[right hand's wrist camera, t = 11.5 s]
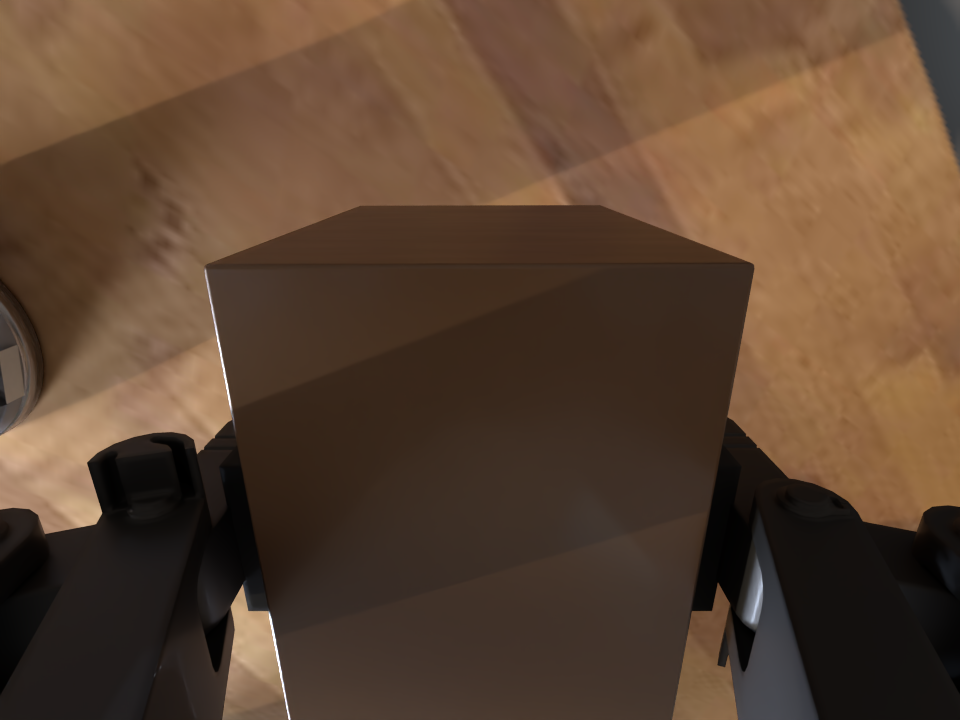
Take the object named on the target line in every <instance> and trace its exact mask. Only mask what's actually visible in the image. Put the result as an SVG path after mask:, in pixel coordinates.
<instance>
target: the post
mask: <svg viewBox="0 0 960 720" xmlns="http://www.w3.org/2000/svg"><path fill="white" fill-rule="evenodd" d="M204 272H205V277H206V282H207V288H208V293H209V298H210V304H211V309H212V314H213V319H214V325H215V330H216V335H217V341H218V346H219V351H220V356H221V362H222V367H223V372H224V378H225V383H226V388H227V394H228V399H229V404H230V409H231V415H232V420H233V425H234V431H235V436H236V441H237V446H238V452H239V457H240V462H241V468H242V473H243V478H244V483H245V489H246V494H247V499H248V505H249V510H250V515H251V521H252V526H253V531H254V536H255V542H256V547H257V552H258V558H259V563H260V568H261V573H262V579H263V584H264V589H265V595H266V600H267V605H268V611H269V616H270V621H271V626H272V632H273V637H274V642H275V648H276V653H277V658H278V663H279V669H280V674H281V679H282V685H283V690H284V695H285V701H286V706H287V711H288V716H289V720H672V716H673V711H674V705H675V700H676V695H677V689H678V684H679V678H680V673H681V667H682V662H683V656H684V651H685V645H686V640H687V634H688V629H689V623H690V618H691V612H692V607H693V601H694V596H695V591H696V585H697V580H698V574H699V569H700V563H701V558H702V552H703V547H704V541H705V536H706V530H707V525H708V519H709V514H710V508H711V503H712V497H713V492H714V487H715V481H716V476H717V470H718V465H719V459H720V454H721V448H722V443H723V437H724V432H725V426H726V421H727V415H728V410H729V404H730V399H731V393H732V388H733V383H734V377H735V372H736V366H737V361H738V355H739V350H740V344H741V339H742V333H743V328H744V322H745V317H746V311H747V306H748V300H749V295H750V289H751V284H752V279H753V273H754V265H753V264H752V263H750V262H747V261H745V260H742V259H739V258H737V257H734V256H731V255H729V254H726V253H724V252H721V251H718V250H716V249H713V248H710V247H708V246H705V245H703V244H700V243H697V242H695V241H692V240H689V239H687V238H684V237H682V236H679V235H676V234H674V233H671V232H668V231H666V230H663V229H661V228H658V227H655V226H653V225H650V224H647V223H645V222H642V221H640V220H637V219H634V218H632V217H629V216H626V215H624V214H621V213H619V212H616V211H613V210H611V209H608V208H605V207H603V206H600V205H524V206H359V207H356V208H354V209H351V210H348V211H346V212H343V213H341V214H338V215H335V216H333V217H330V218H327V219H325V220H322V221H319V222H317V223H314V224H312V225H309V226H306V227H304V228H301V229H298V230H296V231H293V232H291V233H288V234H285V235H283V236H280V237H277V238H275V239H272V240H270V241H267V242H264V243H262V244H259V245H256V246H254V247H251V248H249V249H246V250H243V251H241V252H238V253H235V254H233V255H230V256H227V257H225V258H222V259H220V260H217V261H214V262H212V263H209V264H207V265H205V267H204Z"/></svg>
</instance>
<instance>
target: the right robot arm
mask: <svg viewBox="0 0 960 720" xmlns="http://www.w3.org/2000/svg"><path fill="white" fill-rule="evenodd" d="M42 383H43V359H42V353H41V348H40V345H39V341H38V338H37V336H36V333H35V331H34V328H33V326H32V324H31V322H30V320H29V318H28V317H27V315H26V313H25V312H24V310H23V308H22V307H21V305H20V304H19V303H18V301H17V300H16V298H15V297H14V296H13V295H12V294H11V292H10V291H9V290H8V289H7V288H6V287H5V285H4V284H3V283H2V282H1V281H0V435H2V434H4V433H6V432H7V431H9V430H11V429H13V428H14V427H16V426H17V425H18V424H20V423H21V422H22V421H23V420H24V419H25V418H26V417H27V416H28V415H29V414H30V412H31V411H32V410H33V408H34V406H35V405H36V403H37V400H38V398H39V396H40V392H41V389H42ZM87 464H88V467H89V471H90V474H91V477H92V480H93V484H94V487H95V490H96V493H97V497H98V500H99V503H100V506H101V510H102V515H101V517H100V519H99V520H98V522H97V524H95V525H91V526H86V527H80V528H75V529H70V530H65V531H59V532H54V533H49V534H45V533H44V531H43V528H42V525H41V522H40V520H39V517H38V515H37V514H36V513H34V512H33V511H31V510H30V509H20V508H9V509H2V510H0V720H222V715H223V708H224V701H225V694H226V687H227V680H228V673H229V666H230V659H231V652H232V645H233V638H234V631H235V629H234V621H233V616H232V611H231V607H230V606H231V604H232V603H233V601H234V599H235V597H236V595H237V594H238V592H239V590H240V588H241V586H242V585H243V587H244V591H245V596H246V601H247V606H248V611H268V605H267V600H266V595H265V589H264V584H263V579H262V573H261V568H260V563H259V558H258V552H257V547H256V542H255V536H254V531H253V526H252V521H251V515H250V510H249V505H248V499H247V494H246V489H245V483H244V478H243V473H242V468H241V462H240V457H239V452H238V446H237V441H236V436H235V431H234V425H233V420H231V421H229V422H228V423H227V424H226V425H225V426H224V427H223V428H222V429H221V430H220V431H219V432H218V433H217V434H216V435H215V439H212V440H211V441H210V442H209V443H208V444H207V445H206V446H205V447H204V450H201V451H200V452H199V453H198V454H197V453H196V448H195V443H194V440H193V439H192V438H190V437H189V436H187V435H186V434H180V433H174V432H166V433H152V434H147V435H142V436H137V437H133V438H130V439H127V440H124V441H121V442H119V443H116V444H113V445H112V446H110V447H108V448H106V449H104V450H102V451H100V452H99V453H97V454H96V455H95V456H94V457H93V458H92V459H91V460H90V461H88V462H87ZM718 583H719V585H720V586H721V588H722V590H723V592H724V593H725V595H726V597H727V599H728V601H729V602H730V607H729V611H728V616H727V620H726V625H725V629H724V634H723V639H722V643H721V648H720V652H719V658H718V665H719V666H723V667H725V665H726V661H727V657H728V655H729V658H730V665H731V672H732V679H733V686H734V693H735V700H736V707H737V714H738V720H960V507H956V506H937V507H931V508H930V509H928V510H927V511H925V512H924V513H923V516H922V519H921V521H920V524H919V527H918V530H917V532H914V531H909V530H904V529H899V528H893V527H888V526H883V525H877V524H872V523H867V522H863V521H862V519H861V518H860V516H859V514H858V512H857V511H856V510H855V509H854V508H853V507H852V506H851V504H850V503H849V502H848V501H846V500H845V499H843V498H842V497H840V496H839V495H837V494H835V493H834V492H832V491H830V490H828V489H825V488H823V487H820V486H818V485H815V484H813V483H808V482H804V481H800V480H796V479H789V478H788V477H787V476H786V475H785V474H784V473H783V472H782V471H781V470H780V469H779V468H778V467H777V466H776V465H775V464H774V463H773V462H772V461H771V460H770V458H769V457H768V456H767V455H766V454H765V453H764V452H763V451H762V450H761V449H760V448H757V445H756V444H755V443H754V442H753V441H752V440H751V439H750V438H749V437H746V434H745V433H744V431H743V430H742V429H741V428H740V427H739V426H738V425H737V424H736V423H735V422H734V421H733V420H731V419H729V418H727V421H726V426H725V432H724V437H723V443H722V448H721V454H720V459H719V465H718V470H717V476H716V481H715V487H714V492H713V497H712V503H711V508H710V514H709V519H708V525H707V530H706V536H705V541H704V547H703V552H702V558H701V563H700V569H699V574H698V580H697V585H696V591H695V596H694V601H693V607H692V611H712V608H713V603H714V599H715V594H716V589H717V584H718Z"/></svg>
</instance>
